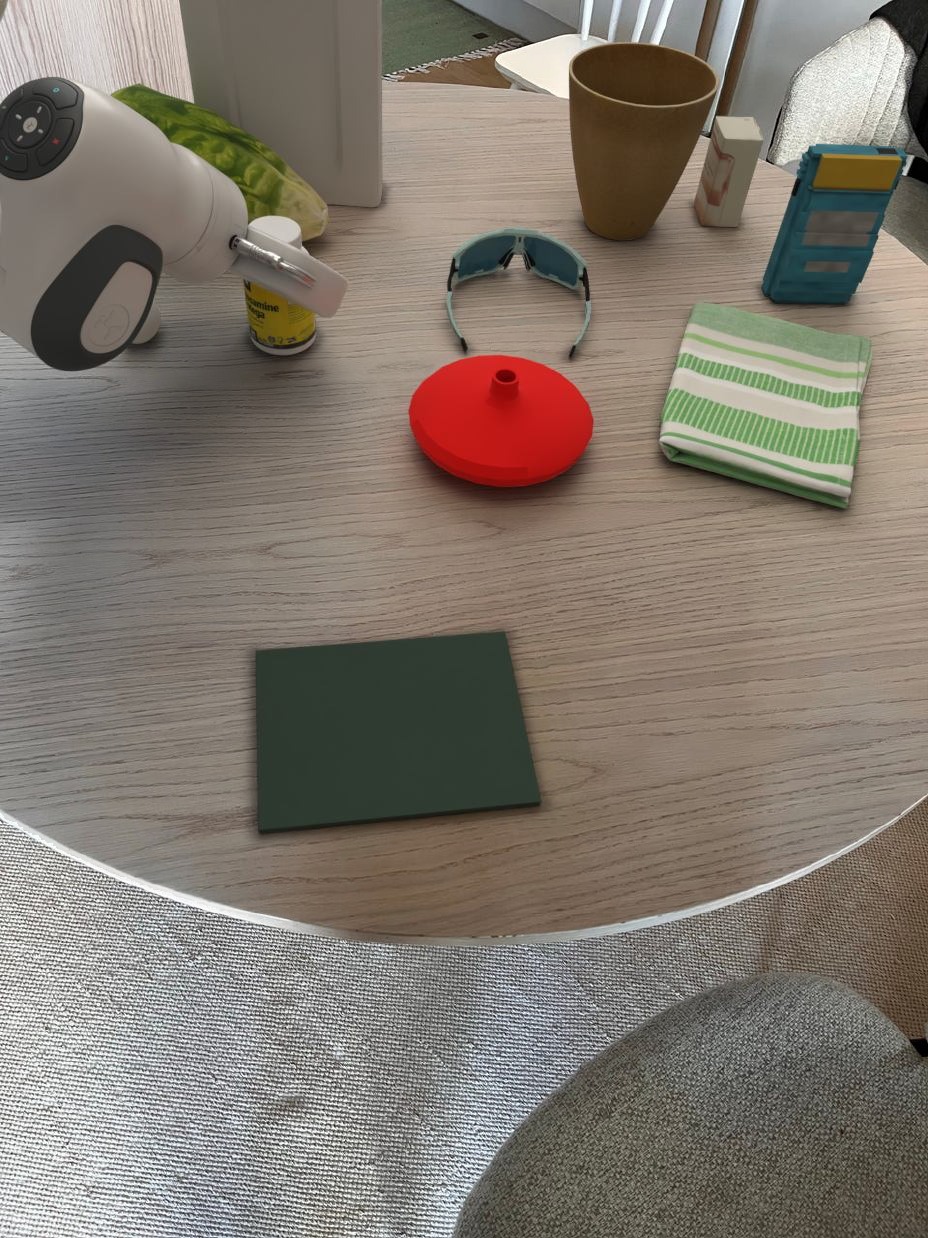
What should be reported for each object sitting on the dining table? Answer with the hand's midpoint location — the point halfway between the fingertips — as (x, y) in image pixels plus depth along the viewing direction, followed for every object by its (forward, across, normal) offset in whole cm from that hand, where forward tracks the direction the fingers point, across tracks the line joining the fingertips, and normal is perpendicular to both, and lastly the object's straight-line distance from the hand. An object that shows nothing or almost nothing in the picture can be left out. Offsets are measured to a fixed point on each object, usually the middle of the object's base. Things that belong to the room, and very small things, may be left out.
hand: (282, 277), depth 88 cm
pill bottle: (+4, 0, +5) cm, 6 cm away
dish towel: (+18, -41, -9) cm, 45 cm away
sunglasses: (+16, -15, -8) cm, 24 cm away
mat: (-16, -34, +25) cm, 45 cm away
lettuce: (+10, +16, -2) cm, 20 cm away
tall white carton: (+22, +19, -13) cm, 32 cm away
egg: (-2, +10, +11) cm, 15 cm away
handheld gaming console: (+32, -37, -23) cm, 54 cm away
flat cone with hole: (+4, -24, +5) cm, 25 cm away
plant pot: (+32, -14, -23) cm, 41 cm away
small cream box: (+38, -23, -29) cm, 53 cm away
